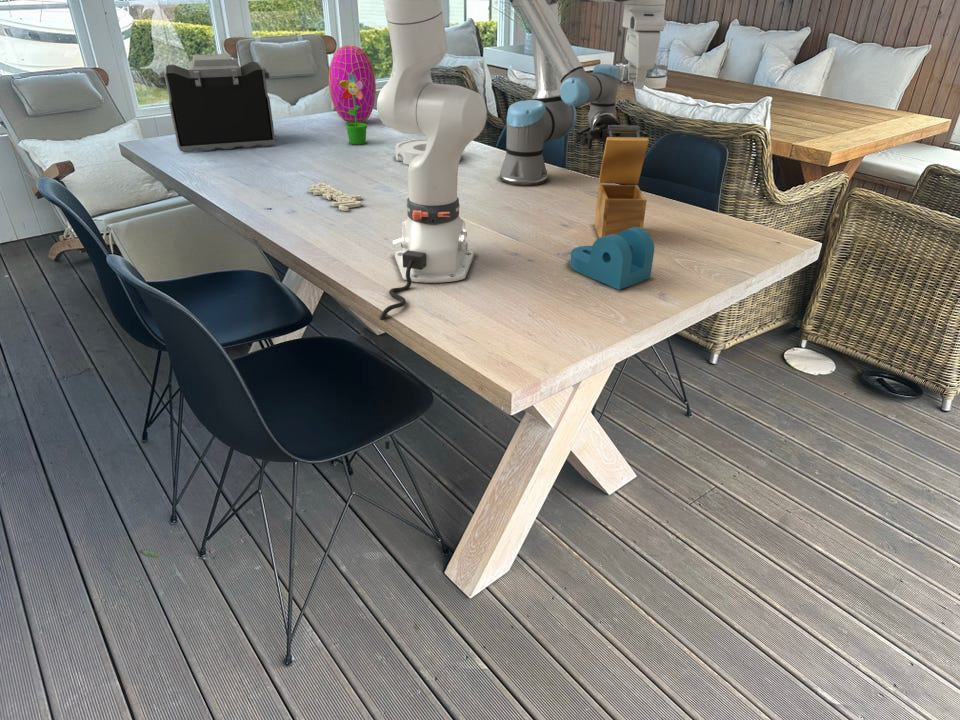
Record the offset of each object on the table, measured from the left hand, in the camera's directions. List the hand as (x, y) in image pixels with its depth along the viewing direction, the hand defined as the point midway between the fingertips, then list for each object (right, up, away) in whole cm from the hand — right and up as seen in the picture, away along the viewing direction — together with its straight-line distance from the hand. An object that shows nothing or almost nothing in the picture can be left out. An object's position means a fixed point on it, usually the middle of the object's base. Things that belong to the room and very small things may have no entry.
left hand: (635, 85), depth 159 cm
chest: (0, -31, +20) cm, 37 cm away
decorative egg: (-89, +38, +134) cm, 165 cm away
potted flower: (-82, +19, +103) cm, 133 cm away
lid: (0, -14, +13) cm, 19 cm away
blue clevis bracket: (-7, -44, -2) cm, 44 cm away
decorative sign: (-78, -16, +44) cm, 91 cm away
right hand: (0, -6, +24) cm, 25 cm away
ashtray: (-54, +8, +85) cm, 101 cm away
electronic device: (-132, +18, +100) cm, 166 cm away
